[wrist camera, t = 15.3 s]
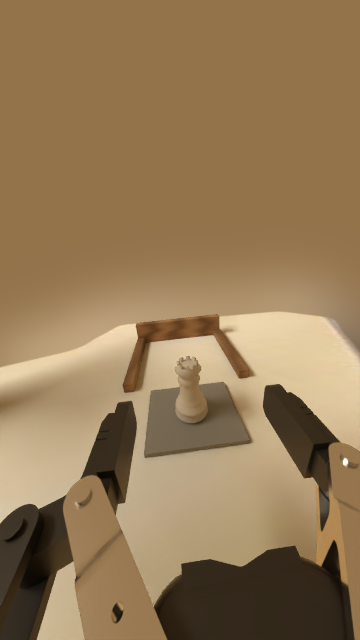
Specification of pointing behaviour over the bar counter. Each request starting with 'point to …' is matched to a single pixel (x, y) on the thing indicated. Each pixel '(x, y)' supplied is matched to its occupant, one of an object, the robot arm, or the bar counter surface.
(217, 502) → the bar counter surface
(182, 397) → the rook chess piece
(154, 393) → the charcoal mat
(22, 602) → the robot arm
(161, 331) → the walnut lane
